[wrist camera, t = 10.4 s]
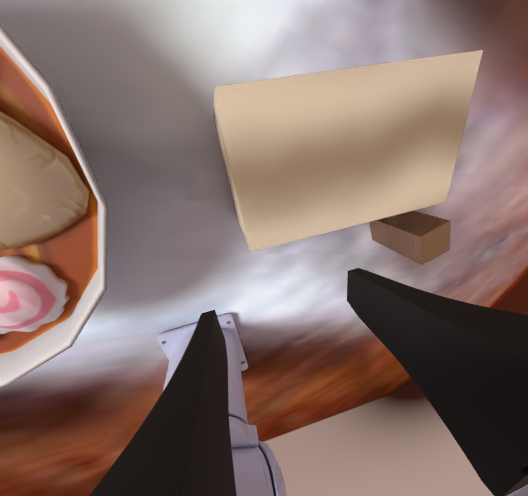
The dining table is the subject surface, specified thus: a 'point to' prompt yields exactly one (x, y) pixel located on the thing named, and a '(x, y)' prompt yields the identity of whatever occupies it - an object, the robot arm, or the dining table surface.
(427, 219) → the wood grain brick
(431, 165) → the tan slab
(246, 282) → the dining table surface
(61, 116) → the ramen bowl
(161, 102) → the dining table surface
